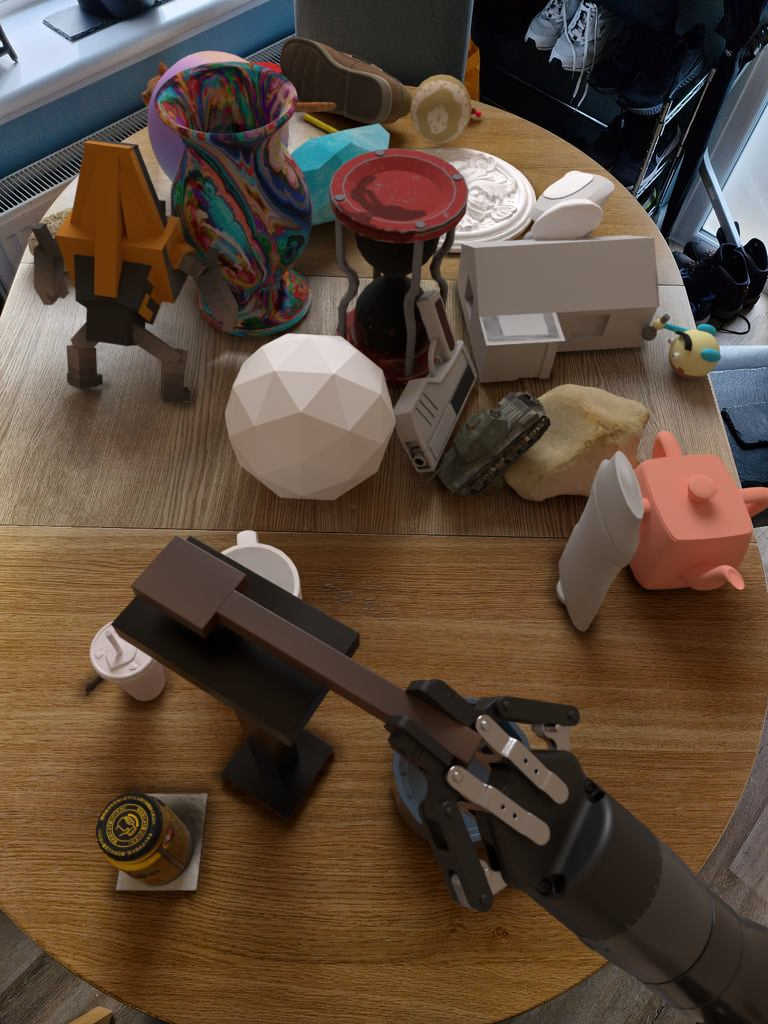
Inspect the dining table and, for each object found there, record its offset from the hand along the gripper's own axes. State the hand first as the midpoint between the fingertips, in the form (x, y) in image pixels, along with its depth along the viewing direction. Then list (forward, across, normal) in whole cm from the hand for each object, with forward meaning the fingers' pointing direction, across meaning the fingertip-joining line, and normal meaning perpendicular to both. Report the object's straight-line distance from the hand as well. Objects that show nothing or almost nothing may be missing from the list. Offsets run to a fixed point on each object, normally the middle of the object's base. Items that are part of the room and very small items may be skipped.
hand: (404, 703), depth 42 cm
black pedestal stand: (-8, 0, +38) cm, 39 cm away
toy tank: (-7, -43, +34) cm, 55 cm away
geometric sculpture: (+8, -33, +47) cm, 57 cm away
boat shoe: (+49, -101, +63) cm, 129 cm away
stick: (+12, +1, +49) cm, 50 cm away
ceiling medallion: (+18, -91, +53) cm, 107 cm away
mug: (+2, -12, +43) cm, 45 cm away
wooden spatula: (+5, 0, +5) cm, 7 cm away
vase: (+29, -53, +59) cm, 85 cm away
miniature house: (-5, -72, +39) cm, 82 cm away
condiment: (-3, +11, +40) cm, 42 cm away
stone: (-15, -51, +33) cm, 62 cm away
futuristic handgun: (+12, -47, +32) cm, 58 cm away
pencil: (+41, -97, +66) cm, 124 cm away
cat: (+46, -78, +68) cm, 114 cm away
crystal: (+35, -60, +56) cm, 90 cm away
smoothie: (+7, 0, +46) cm, 47 cm away
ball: (+50, -75, +47) cm, 102 cm away
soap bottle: (+3, -79, +31) cm, 85 cm away
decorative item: (+50, -45, +70) cm, 97 cm away
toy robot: (+32, -30, +60) cm, 75 cm away
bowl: (-21, -8, +30) cm, 37 cm away
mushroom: (+30, -113, +53) cm, 128 cm away
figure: (+35, -109, +58) cm, 129 cm away
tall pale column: (-23, -34, +29) cm, 50 cm away
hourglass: (+10, -56, +48) cm, 75 cm away
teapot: (-29, -44, +26) cm, 59 cm away
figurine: (-18, -74, +23) cm, 80 cm away
